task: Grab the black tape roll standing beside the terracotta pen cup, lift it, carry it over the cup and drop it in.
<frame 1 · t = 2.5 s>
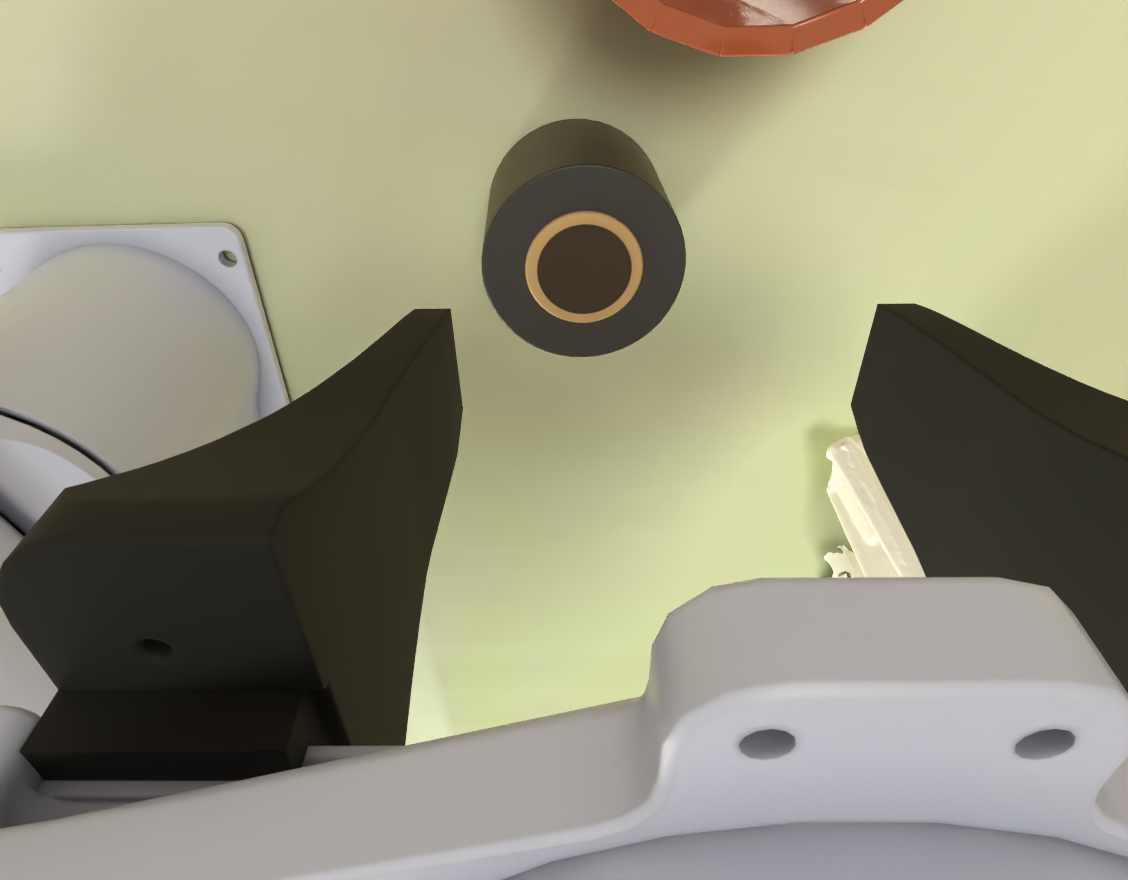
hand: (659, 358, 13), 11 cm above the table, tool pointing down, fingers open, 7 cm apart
tape roll: (575, 209, 22), on the table
shaker set: (866, 511, 30), on the table
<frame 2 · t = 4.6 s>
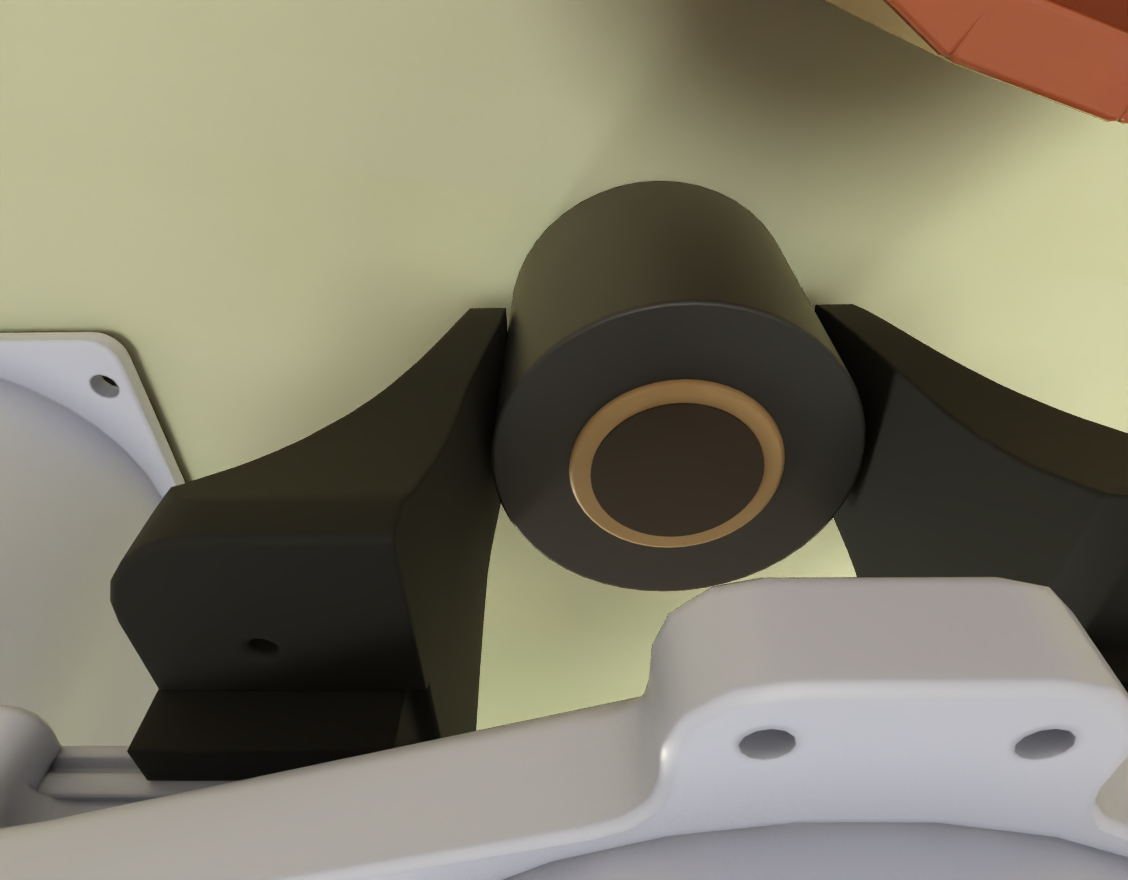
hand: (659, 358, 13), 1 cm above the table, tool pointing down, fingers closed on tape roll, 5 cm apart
tape roll: (649, 319, 14), on the table, touching gripper
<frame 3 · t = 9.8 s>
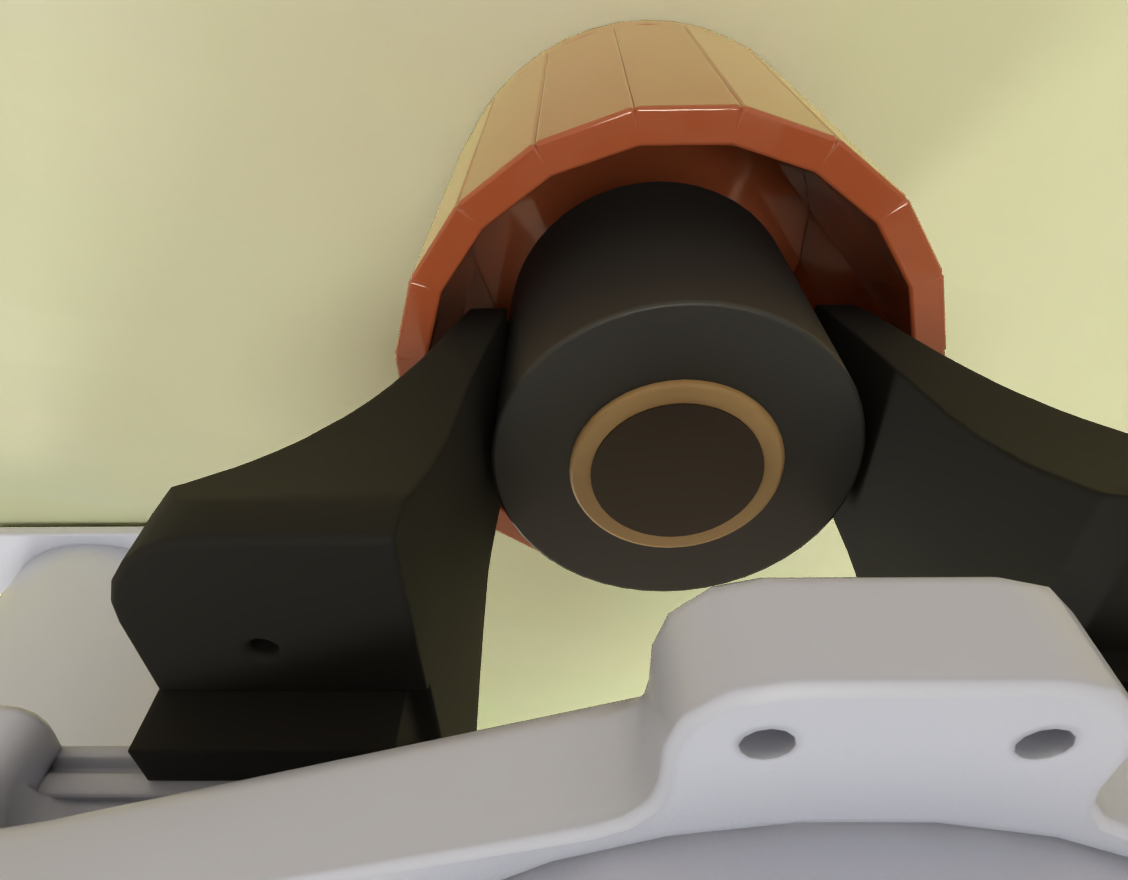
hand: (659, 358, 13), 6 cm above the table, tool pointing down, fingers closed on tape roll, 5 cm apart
tape roll: (649, 319, 14), point 5 cm above the table, touching gripper
pen cup: (636, 226, 17), on the table
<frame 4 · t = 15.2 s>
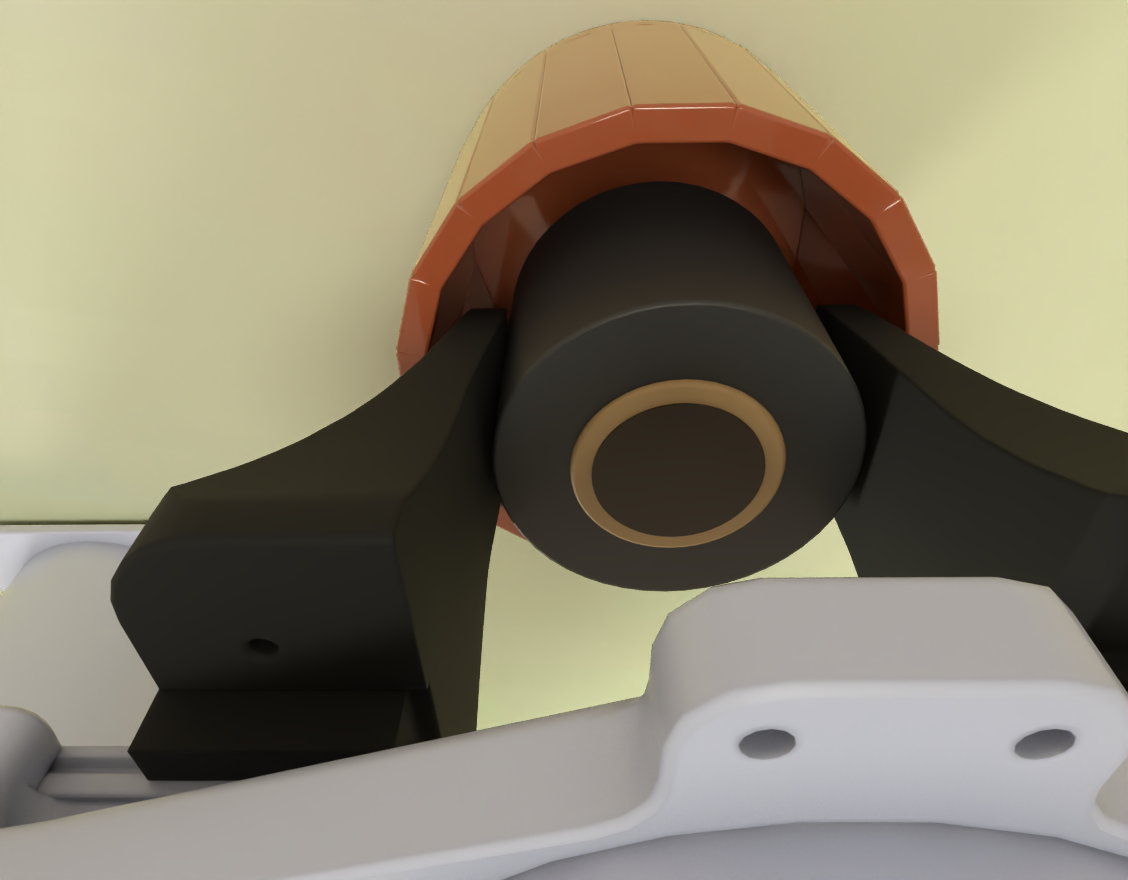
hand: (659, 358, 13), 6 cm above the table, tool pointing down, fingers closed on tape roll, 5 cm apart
tape roll: (650, 319, 14), point 5 cm above the table, touching gripper
pen cup: (634, 225, 18), on the table
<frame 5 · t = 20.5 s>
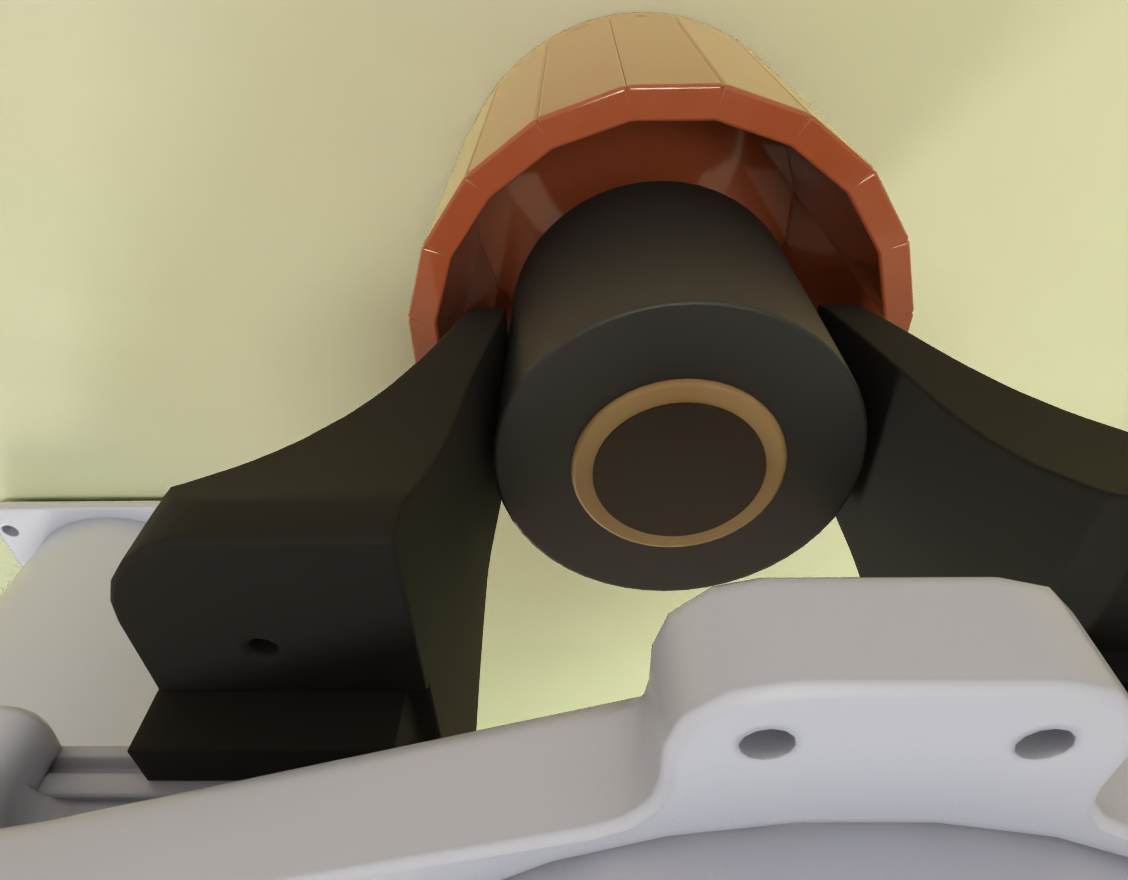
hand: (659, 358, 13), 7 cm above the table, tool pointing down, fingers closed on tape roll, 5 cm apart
tape roll: (650, 319, 14), point 6 cm above the table, touching gripper
pen cup: (631, 208, 18), on the table
when the fingers open (8 cm above the table, at t = 25.6 s): tape roll drops 6 cm, resting on pen cup.
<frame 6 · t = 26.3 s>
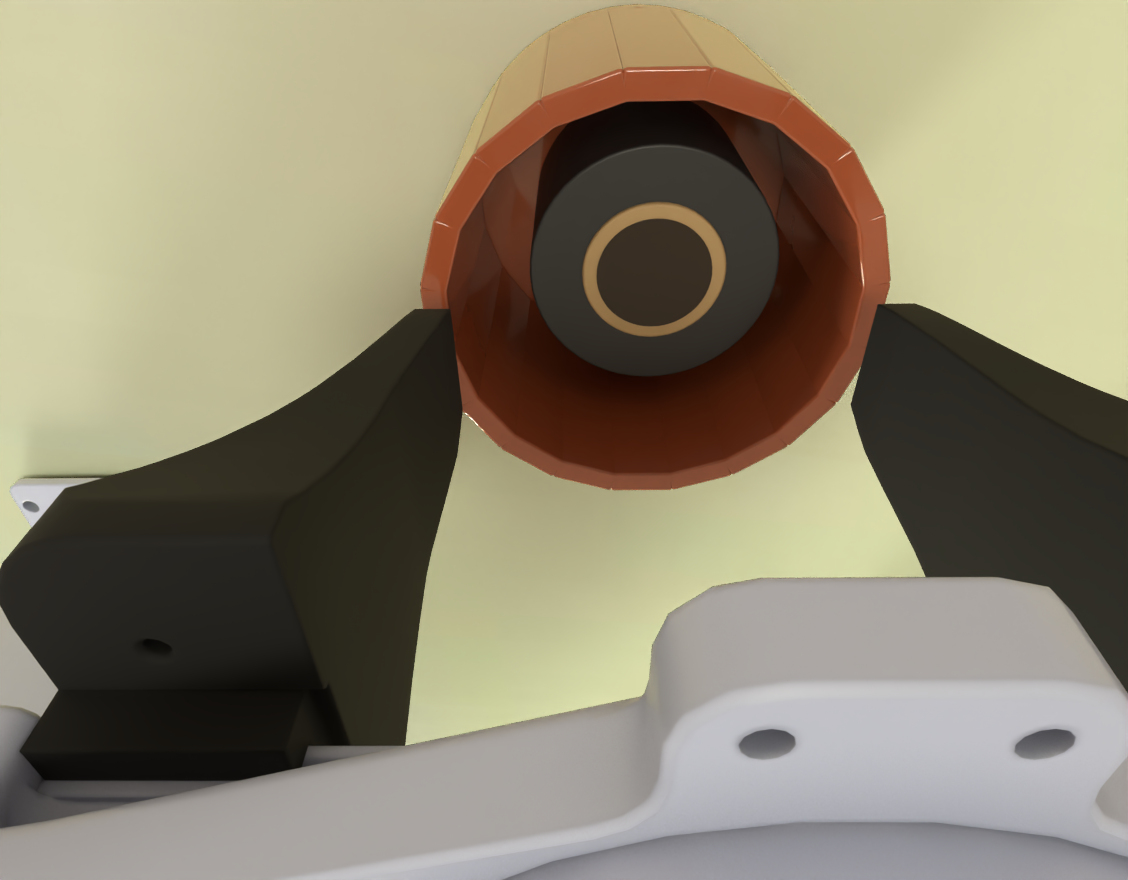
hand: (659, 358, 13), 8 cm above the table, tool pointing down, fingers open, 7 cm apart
tape roll: (638, 199, 19), point 1 cm above the table, touching pen cup
pen cup: (629, 192, 19), on the table
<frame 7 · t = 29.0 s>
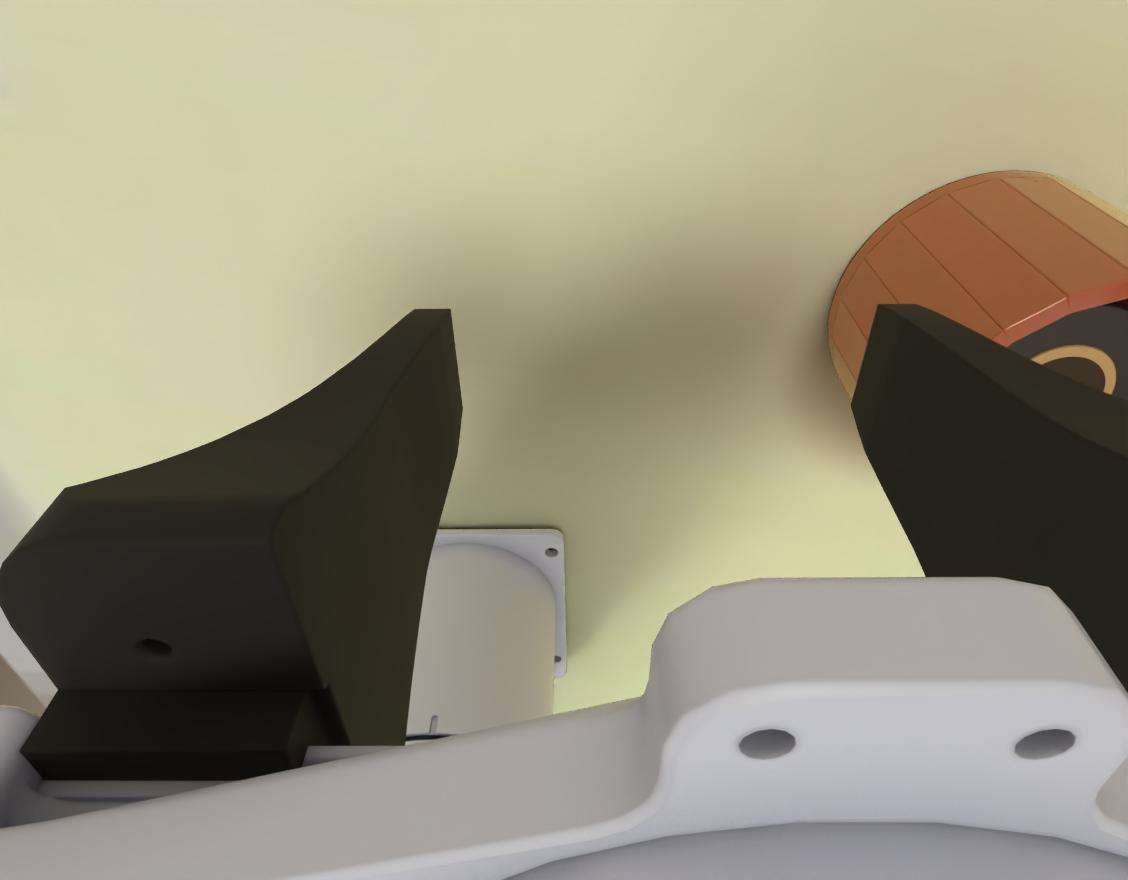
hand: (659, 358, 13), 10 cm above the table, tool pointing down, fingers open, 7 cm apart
tape roll: (980, 315, 23), point 1 cm above the table, touching pen cup
pen cup: (965, 306, 23), on the table
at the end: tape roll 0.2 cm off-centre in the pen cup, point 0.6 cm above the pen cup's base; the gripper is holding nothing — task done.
